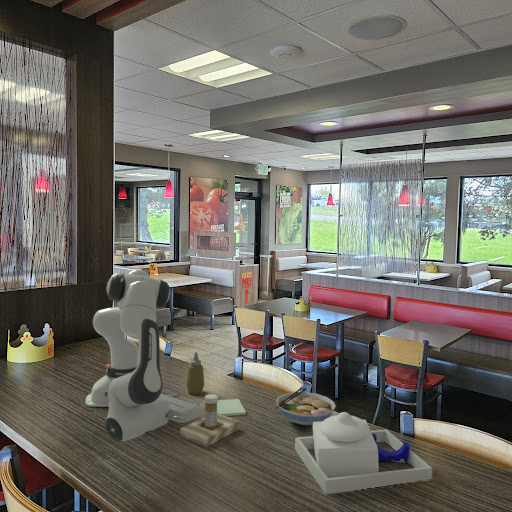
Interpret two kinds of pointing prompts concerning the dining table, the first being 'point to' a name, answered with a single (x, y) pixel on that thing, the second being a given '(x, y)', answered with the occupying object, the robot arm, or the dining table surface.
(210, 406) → the sprinkles bottle
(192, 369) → the squeeze bottle
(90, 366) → the dining table surface
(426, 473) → the grey rectangular tray
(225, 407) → the pad
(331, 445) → the white block with dome
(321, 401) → the ramen bowl
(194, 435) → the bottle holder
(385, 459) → the cable clip
